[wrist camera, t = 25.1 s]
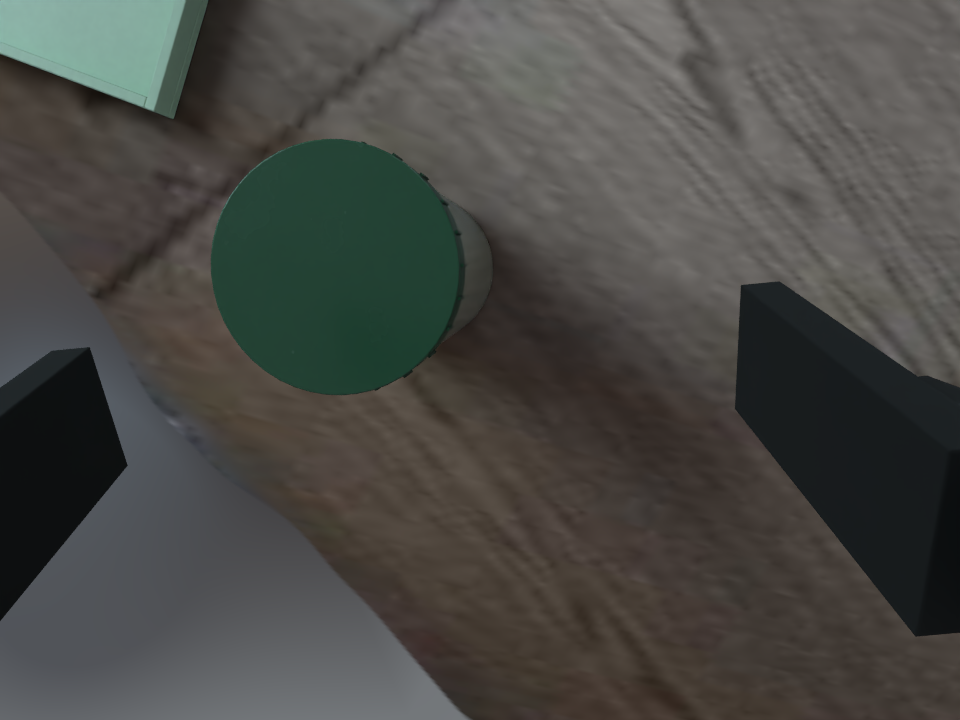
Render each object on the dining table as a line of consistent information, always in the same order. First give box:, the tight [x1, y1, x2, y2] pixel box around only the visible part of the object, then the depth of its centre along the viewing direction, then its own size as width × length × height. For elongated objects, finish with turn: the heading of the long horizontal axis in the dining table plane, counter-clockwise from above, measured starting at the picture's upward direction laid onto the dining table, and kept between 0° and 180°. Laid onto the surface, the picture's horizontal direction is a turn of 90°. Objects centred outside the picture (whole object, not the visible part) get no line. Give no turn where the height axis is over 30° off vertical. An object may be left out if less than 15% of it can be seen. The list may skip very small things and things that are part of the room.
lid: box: [211, 139, 467, 395], centre depth 24 cm, size 8×8×2 cm
